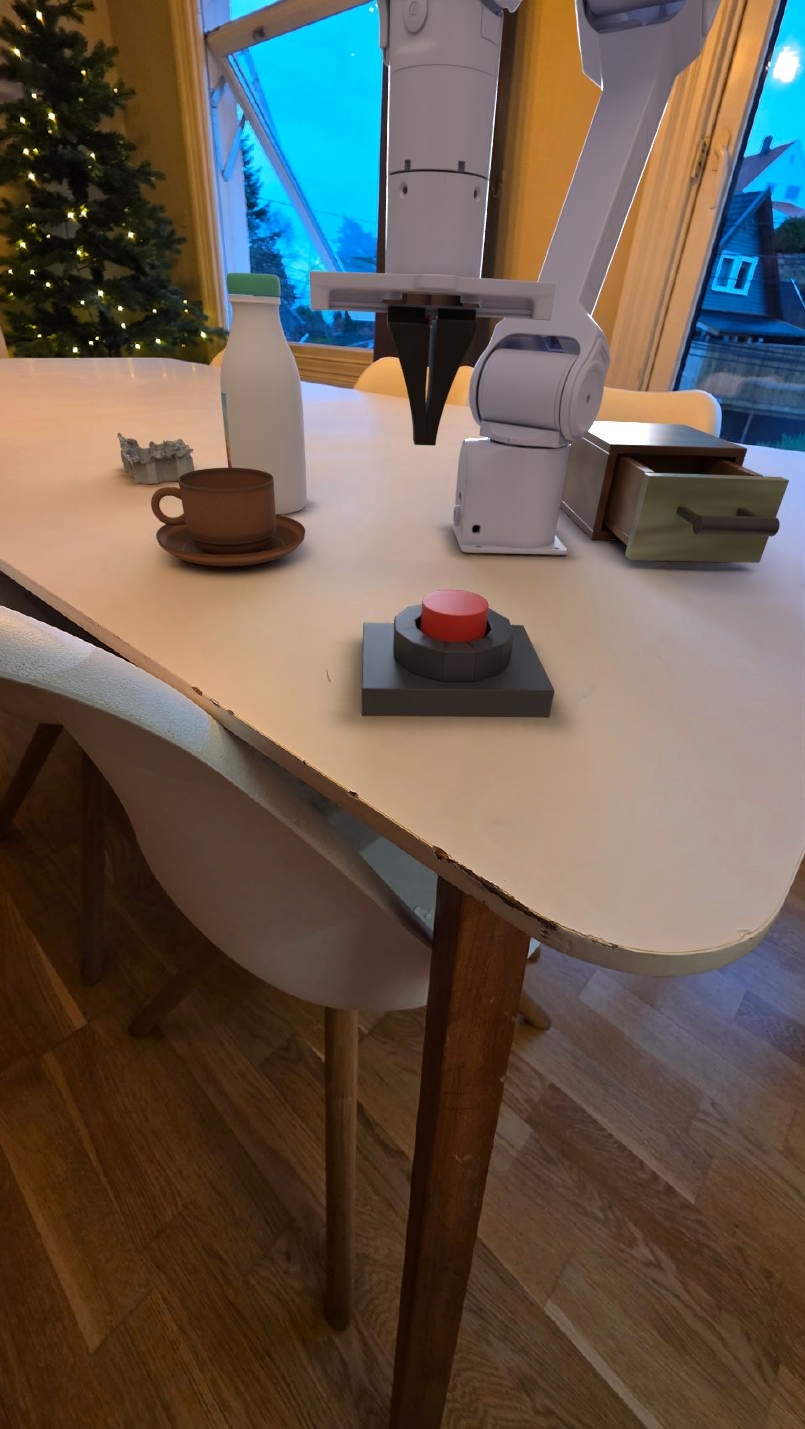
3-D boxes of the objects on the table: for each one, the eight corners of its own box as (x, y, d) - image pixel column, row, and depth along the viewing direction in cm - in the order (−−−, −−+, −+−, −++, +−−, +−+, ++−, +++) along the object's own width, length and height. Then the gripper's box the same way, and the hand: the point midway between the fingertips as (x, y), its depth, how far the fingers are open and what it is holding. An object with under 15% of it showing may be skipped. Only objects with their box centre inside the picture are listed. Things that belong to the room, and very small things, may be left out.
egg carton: (121, 467, 78) (114, 432, 76) (183, 464, 81) (178, 429, 79) (132, 486, 70) (125, 447, 68) (200, 481, 73) (195, 444, 71)
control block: (361, 716, 33) (361, 657, 31) (363, 646, 39) (363, 594, 37) (549, 718, 33) (561, 660, 31) (519, 649, 40) (527, 597, 38)
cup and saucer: (168, 587, 46) (153, 501, 43) (153, 538, 55) (140, 465, 52) (324, 569, 51) (321, 491, 47) (286, 527, 60) (281, 459, 56)
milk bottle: (322, 505, 67) (315, 277, 56) (272, 521, 61) (254, 271, 50) (268, 493, 70) (251, 275, 59) (216, 507, 64) (187, 270, 54)
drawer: (792, 584, 49) (827, 496, 46) (651, 581, 49) (675, 491, 45) (695, 521, 64) (716, 449, 60) (586, 518, 63) (600, 446, 59)
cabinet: (718, 542, 61) (748, 448, 56) (591, 539, 60) (610, 443, 55) (663, 505, 72) (684, 424, 67) (555, 502, 71) (569, 420, 67)
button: (422, 645, 33) (424, 615, 32) (418, 617, 36) (420, 588, 35) (490, 646, 33) (494, 616, 32) (480, 618, 36) (483, 589, 35)
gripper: (300, 159, 31) (311, 450, 39) (586, 176, 32) (543, 458, 39) (311, 182, 37) (319, 431, 44) (552, 196, 38) (520, 438, 45)
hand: (424, 442), depth 42 cm, fingers closed
